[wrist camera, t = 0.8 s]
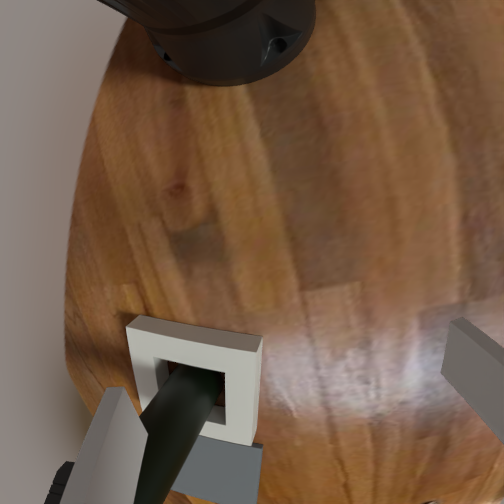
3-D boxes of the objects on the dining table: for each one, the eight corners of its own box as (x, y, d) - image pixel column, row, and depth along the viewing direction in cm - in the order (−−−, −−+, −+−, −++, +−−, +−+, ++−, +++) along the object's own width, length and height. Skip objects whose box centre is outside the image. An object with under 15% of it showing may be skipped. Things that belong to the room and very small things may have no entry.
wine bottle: (167, 365, 35) (9, 563, 6) (203, 350, 33) (35, 590, 5) (196, 400, 35) (71, 602, 7) (233, 388, 33) (110, 628, 5)
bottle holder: (139, 314, 34) (125, 326, 31) (262, 336, 31) (256, 352, 28) (154, 404, 37) (144, 418, 35) (256, 429, 35) (251, 446, 32)
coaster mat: (151, 417, 38) (148, 420, 38) (263, 444, 35) (261, 448, 34) (170, 485, 44) (168, 488, 43) (256, 507, 41) (255, 510, 40)
